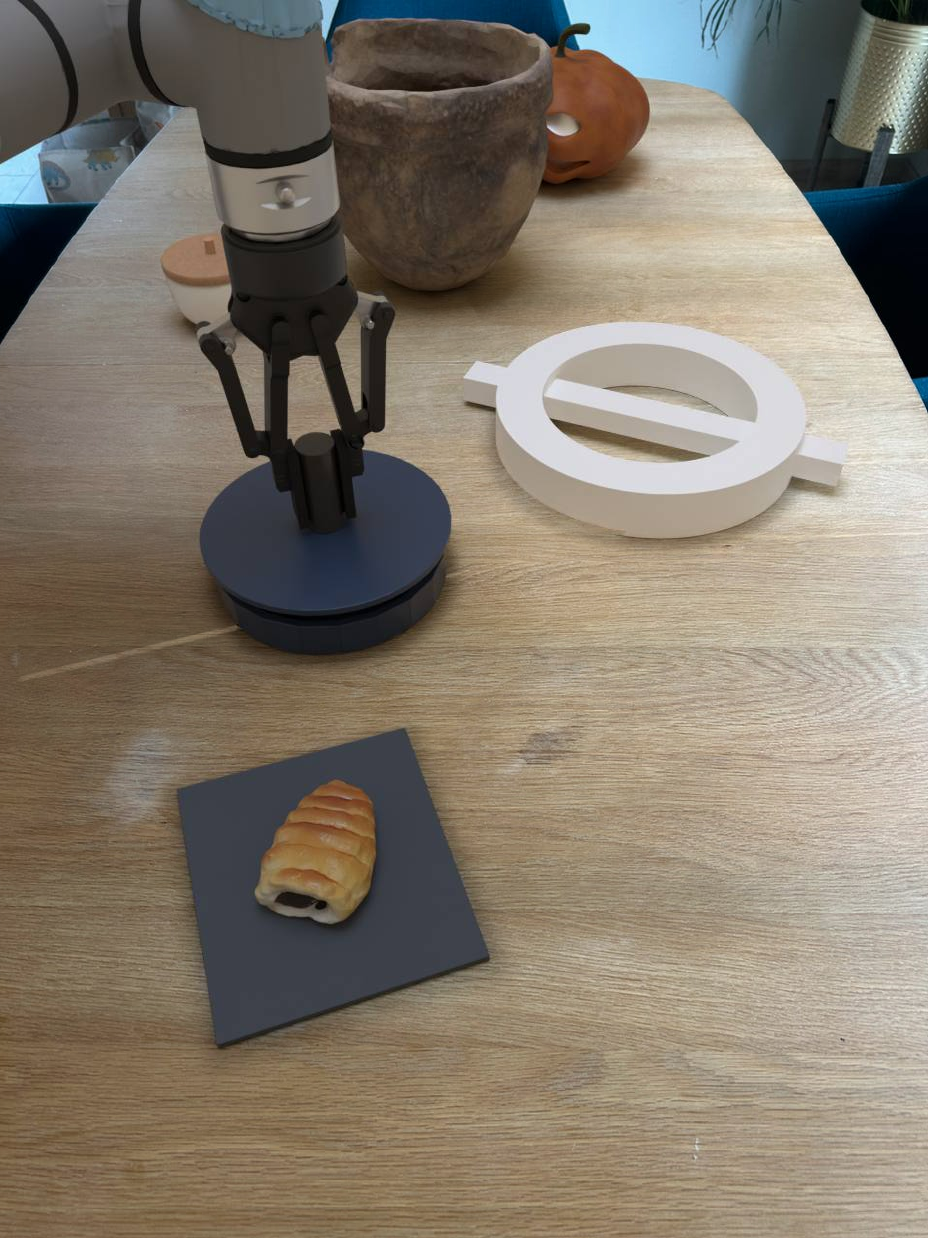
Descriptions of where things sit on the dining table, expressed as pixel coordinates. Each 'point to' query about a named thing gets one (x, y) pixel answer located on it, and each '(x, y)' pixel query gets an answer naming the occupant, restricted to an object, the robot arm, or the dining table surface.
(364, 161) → the clay pot
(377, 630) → the dark blue ring
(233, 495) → the lid
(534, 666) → the dining table surface
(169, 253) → the trinket box
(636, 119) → the pumpkin
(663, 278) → the dining table surface
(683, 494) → the white circle with bar
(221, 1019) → the mat
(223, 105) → the robot arm
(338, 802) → the pastry
